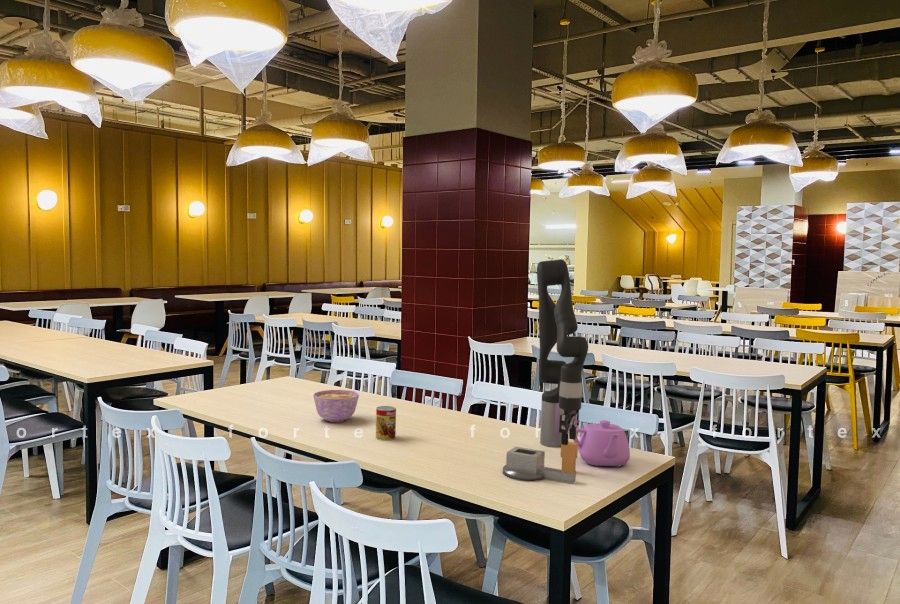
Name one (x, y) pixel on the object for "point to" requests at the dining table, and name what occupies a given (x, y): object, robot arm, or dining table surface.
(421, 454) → the dining table surface
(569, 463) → the orange block
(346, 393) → the bowl of food
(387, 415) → the canned food
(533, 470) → the bracket
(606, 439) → the teapot
